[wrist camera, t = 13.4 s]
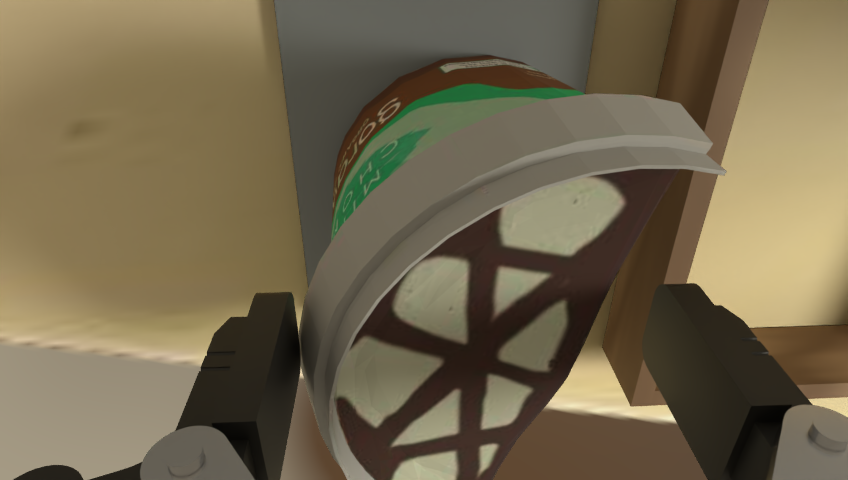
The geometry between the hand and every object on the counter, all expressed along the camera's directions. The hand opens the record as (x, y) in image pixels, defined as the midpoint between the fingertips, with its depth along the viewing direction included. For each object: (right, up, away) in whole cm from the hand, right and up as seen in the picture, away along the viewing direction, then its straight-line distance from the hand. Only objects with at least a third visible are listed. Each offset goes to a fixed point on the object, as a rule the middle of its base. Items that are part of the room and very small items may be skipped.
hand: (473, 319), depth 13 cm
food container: (-2, +4, +7) cm, 9 cm away
